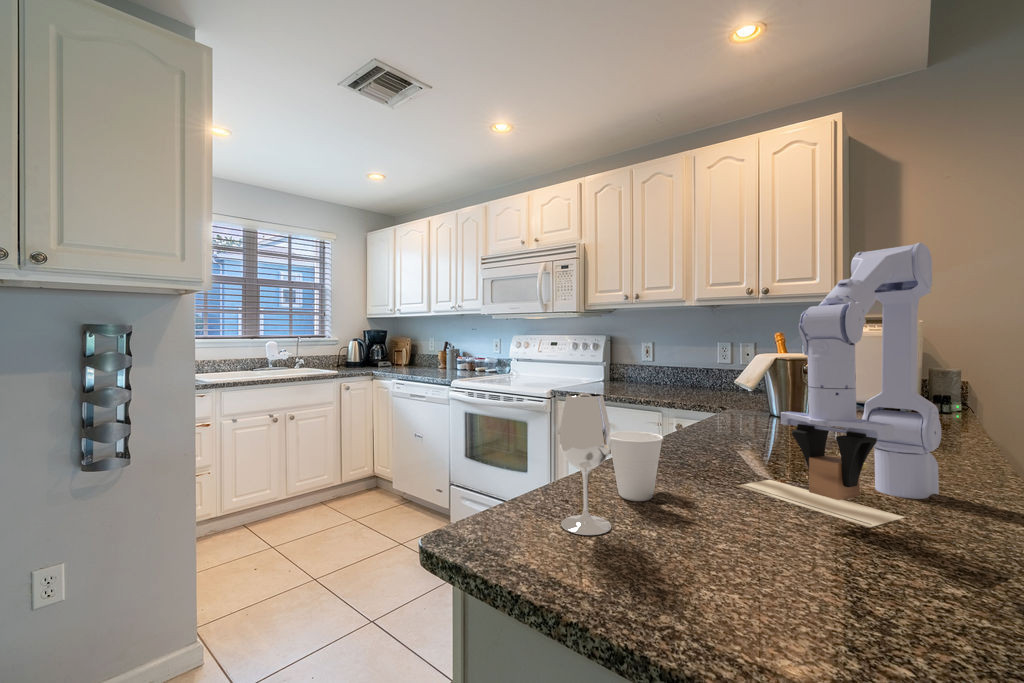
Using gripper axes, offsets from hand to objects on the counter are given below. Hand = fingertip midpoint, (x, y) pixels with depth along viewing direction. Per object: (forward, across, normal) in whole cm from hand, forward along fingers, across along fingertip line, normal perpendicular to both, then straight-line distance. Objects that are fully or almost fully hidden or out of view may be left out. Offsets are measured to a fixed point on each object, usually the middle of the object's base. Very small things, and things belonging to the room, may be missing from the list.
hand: (833, 481), depth 67 cm
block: (+2, 0, +2) cm, 3 cm away
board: (+8, -8, +8) cm, 13 cm away
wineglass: (+8, -18, -30) cm, 36 cm away
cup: (+8, -26, -14) cm, 31 cm away
